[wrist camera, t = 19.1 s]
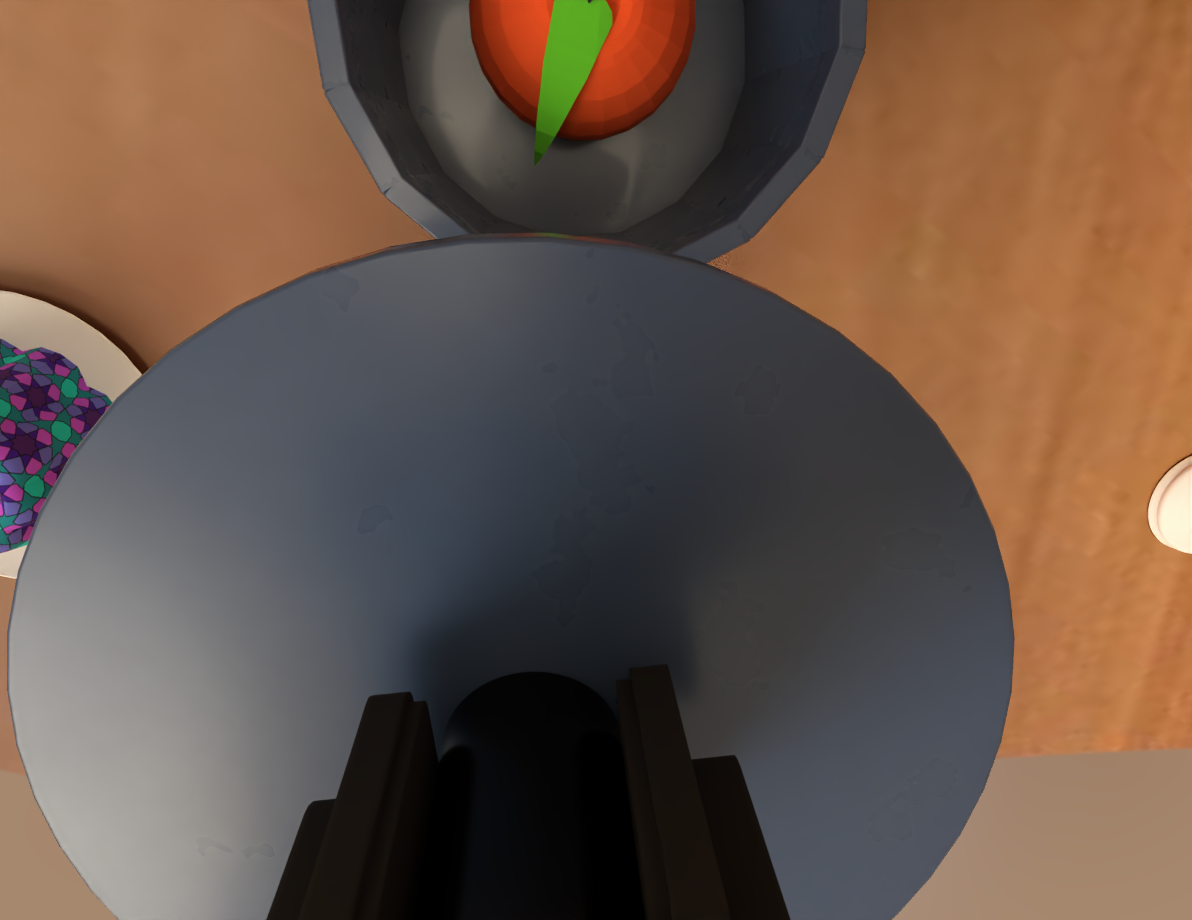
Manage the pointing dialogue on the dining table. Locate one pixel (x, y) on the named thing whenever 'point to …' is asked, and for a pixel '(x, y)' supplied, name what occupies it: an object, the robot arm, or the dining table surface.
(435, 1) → the tin
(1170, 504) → the chess piece
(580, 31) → the clementine
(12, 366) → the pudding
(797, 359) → the lid
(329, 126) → the dining table surface
